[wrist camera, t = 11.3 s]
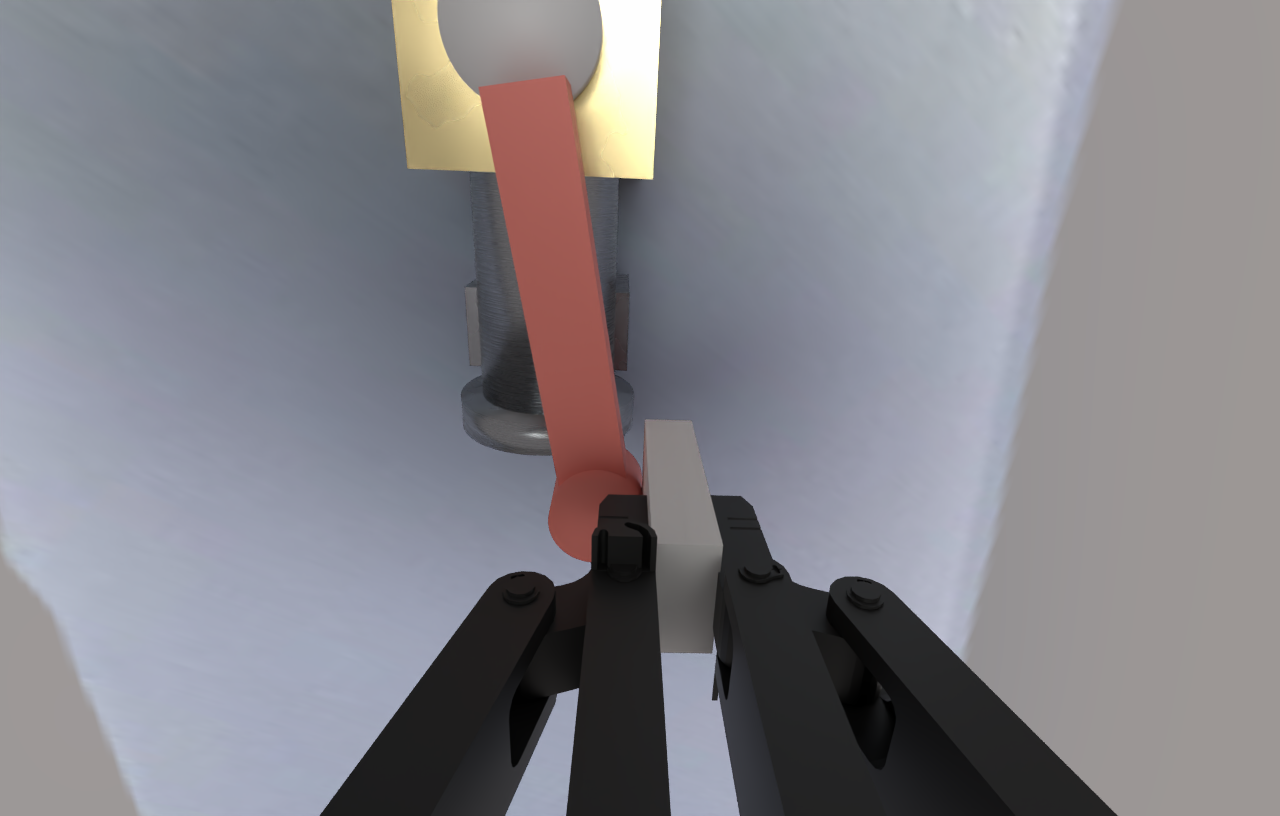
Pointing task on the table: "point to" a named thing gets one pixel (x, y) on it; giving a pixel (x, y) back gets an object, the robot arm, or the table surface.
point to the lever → (550, 233)
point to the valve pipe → (458, 140)
